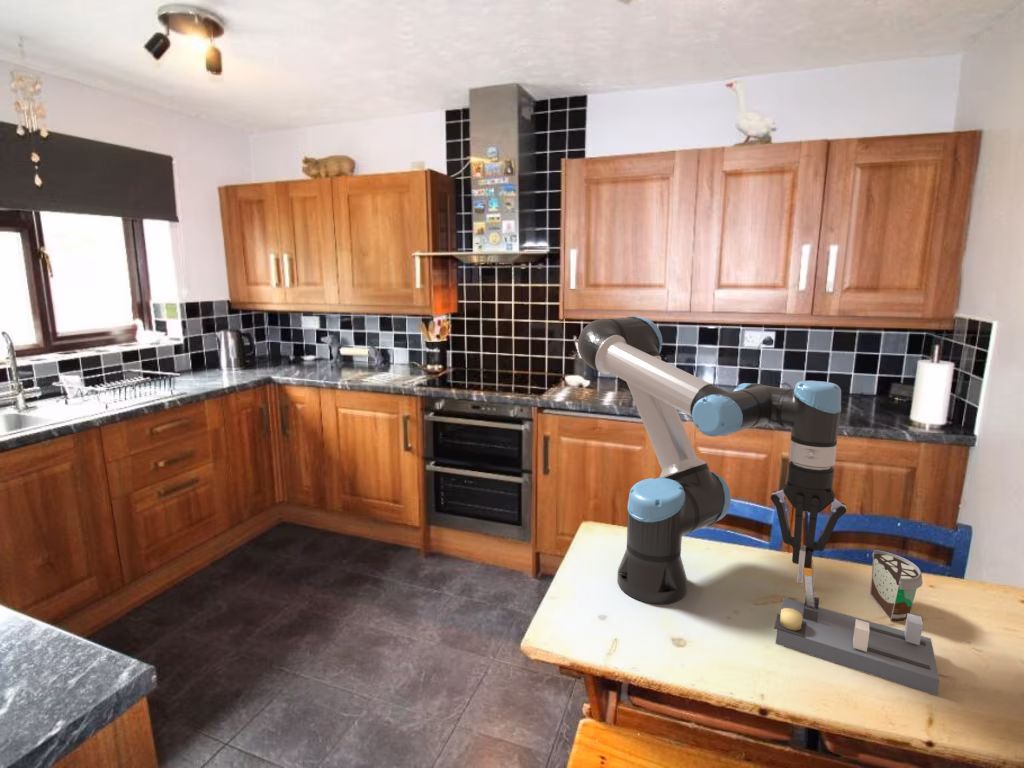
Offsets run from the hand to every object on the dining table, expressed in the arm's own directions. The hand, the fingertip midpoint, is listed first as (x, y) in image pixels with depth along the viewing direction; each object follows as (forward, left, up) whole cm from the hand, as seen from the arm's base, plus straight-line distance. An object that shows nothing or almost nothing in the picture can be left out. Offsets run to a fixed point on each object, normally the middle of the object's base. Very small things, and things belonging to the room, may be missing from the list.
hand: (800, 579), depth 103 cm
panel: (+9, -3, -10) cm, 14 cm away
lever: (+2, 0, -6) cm, 6 cm away
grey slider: (+18, +1, -7) cm, 20 cm away
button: (-1, -6, -7) cm, 9 cm away
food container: (+17, +16, -10) cm, 26 cm away
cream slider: (+10, -6, -7) cm, 14 cm away
